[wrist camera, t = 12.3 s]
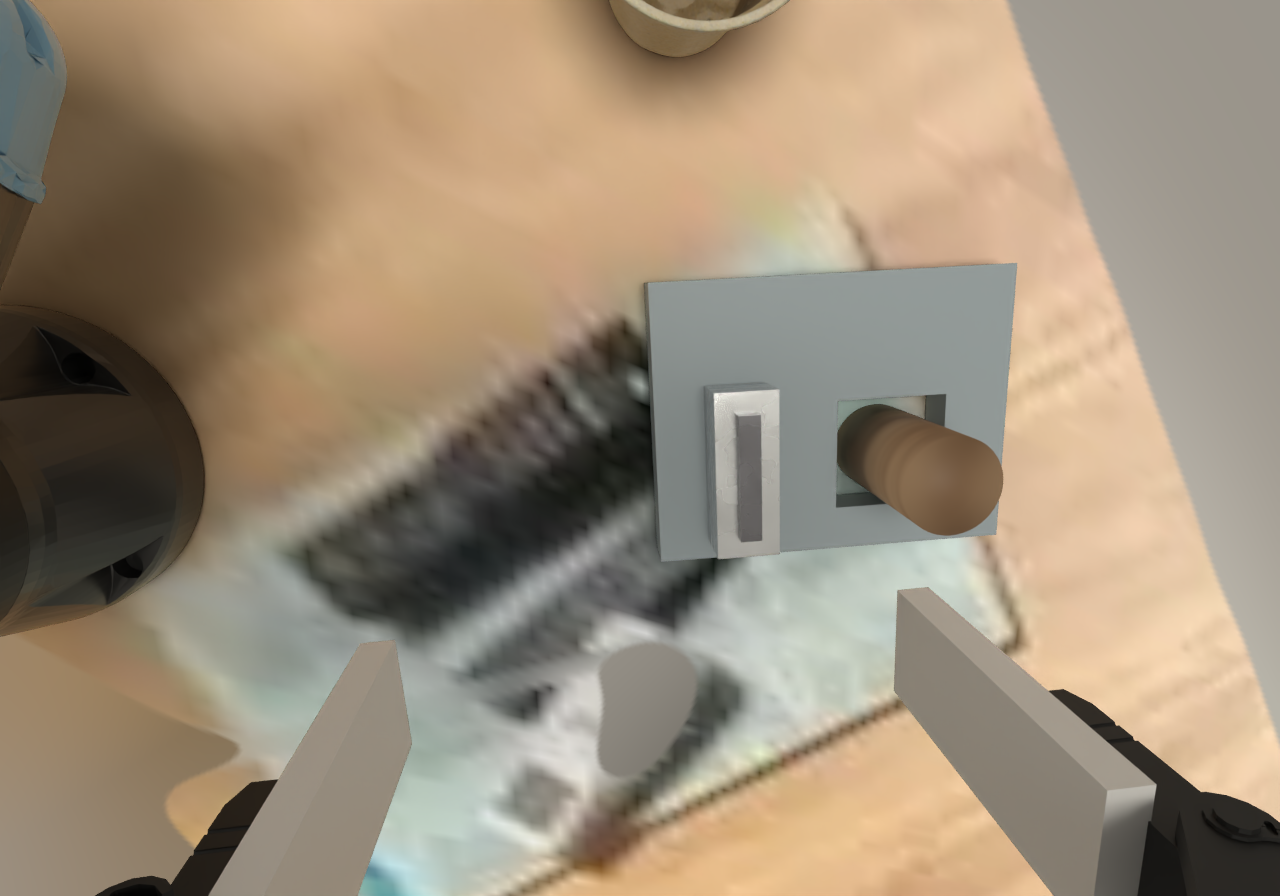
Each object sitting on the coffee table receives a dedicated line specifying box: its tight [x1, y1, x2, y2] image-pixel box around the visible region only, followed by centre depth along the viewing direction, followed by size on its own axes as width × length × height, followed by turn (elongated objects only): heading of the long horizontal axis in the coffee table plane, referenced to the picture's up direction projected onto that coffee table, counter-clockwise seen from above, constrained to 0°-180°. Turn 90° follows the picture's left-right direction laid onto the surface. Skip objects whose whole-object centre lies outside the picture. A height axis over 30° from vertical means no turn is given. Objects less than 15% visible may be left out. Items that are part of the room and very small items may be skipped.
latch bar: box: [704, 382, 780, 559], centre depth 32 cm, size 3×8×3 cm, turn 3°
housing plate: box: [644, 263, 1017, 562], centre depth 35 cm, size 18×14×2 cm
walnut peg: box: [837, 404, 1003, 536], centre depth 32 cm, size 4×4×8 cm
